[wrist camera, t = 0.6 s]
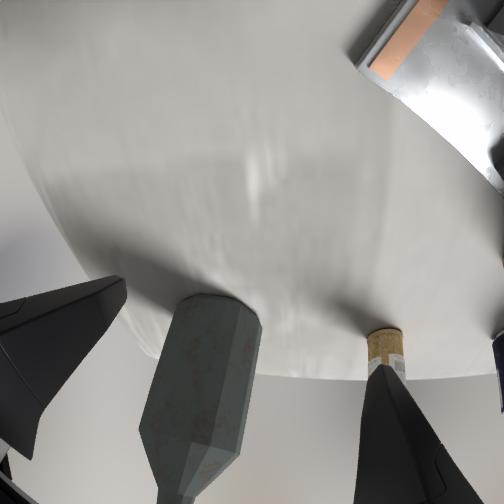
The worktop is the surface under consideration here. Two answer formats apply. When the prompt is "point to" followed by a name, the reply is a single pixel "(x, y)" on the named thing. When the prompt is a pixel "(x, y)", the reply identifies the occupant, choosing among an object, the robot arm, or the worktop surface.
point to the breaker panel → (447, 74)
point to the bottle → (200, 395)
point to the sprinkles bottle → (386, 351)
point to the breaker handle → (498, 27)
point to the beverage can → (500, 364)
